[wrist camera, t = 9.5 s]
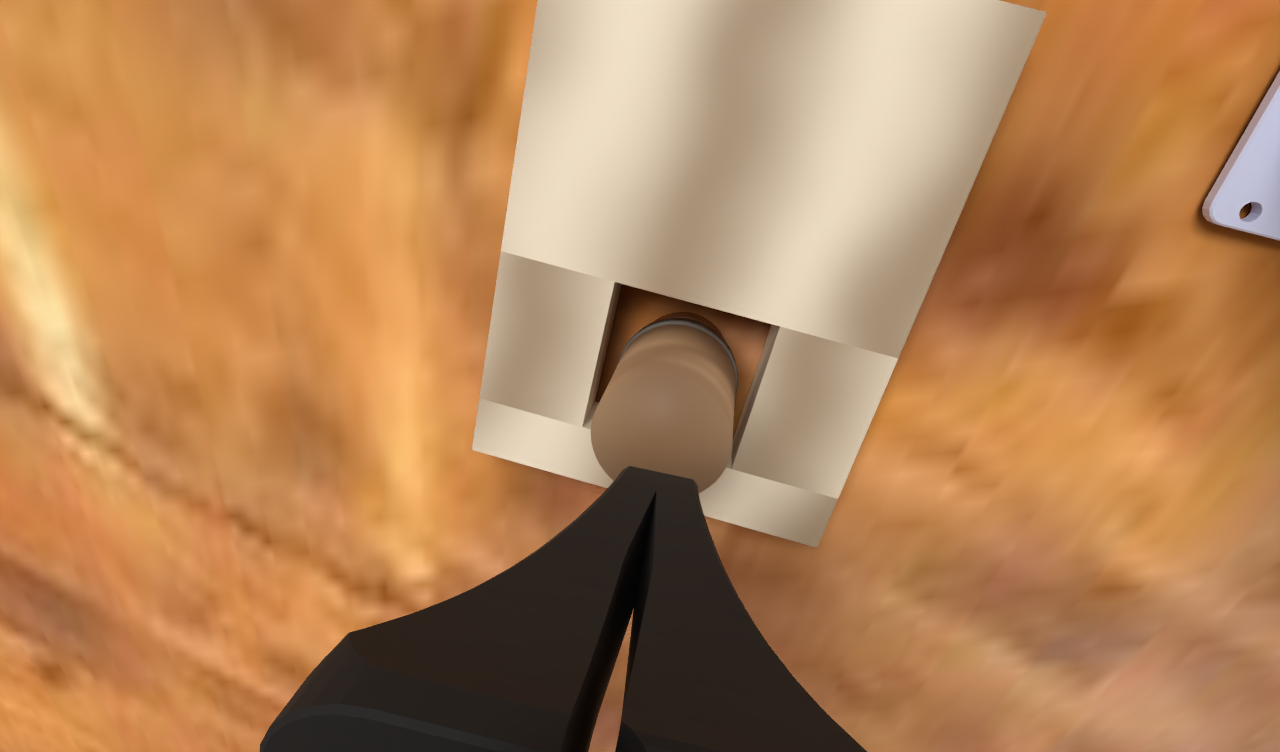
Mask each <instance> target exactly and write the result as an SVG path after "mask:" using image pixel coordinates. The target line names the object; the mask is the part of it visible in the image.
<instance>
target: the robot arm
mask: <svg viewBox="0 0 1280 752" xmlns="http://www.w3.org/2000/svg"><path fill="white" fill-rule="evenodd" d="M1250 202H1251V205H1252V209H1251V212H1250V213H1249V214H1248V215H1247V216H1246V217H1245V218H1242V219H1240V217H1239V213H1240V210H1241V208H1242V207H1243V206H1244V205H1246V204H1248V203H1250ZM1202 212H1203V216H1204V217H1205V219H1206V220H1207V221H1209V222H1211V223H1213V224H1217V225H1221V226H1224V227H1228V228H1232V229H1236V230H1240V231H1244V232H1248V233H1252V234H1256V235H1260V236H1264V237H1267V238H1271V239H1275V240H1279V241H1280V71H1279V73H1278V75H1277V76H1276V78H1275V80H1274V82H1273V83H1272V85H1271V87H1270V88H1269V90H1268V92H1267V94H1266V95H1265V97H1264V99H1263V101H1262V102H1261V104H1260V106H1259V108H1258V109H1257V111H1256V113H1255V114H1254V116H1253V118H1252V120H1251V121H1250V123H1249V125H1248V127H1247V128H1246V130H1245V132H1244V134H1243V135H1242V137H1241V139H1240V140H1239V142H1238V144H1237V146H1236V147H1235V149H1234V151H1233V153H1232V154H1231V156H1230V158H1229V160H1228V161H1227V163H1226V165H1225V166H1224V168H1223V170H1222V172H1221V173H1220V175H1219V177H1218V179H1217V180H1216V182H1215V184H1214V186H1213V187H1212V189H1211V191H1210V192H1209V194H1208V196H1207V198H1206V199H1205V201H1204V204H1203V207H1202ZM633 608H634V611H633ZM632 611H633V620H632V629H631V638H630V647H629V656H628V665H627V674H626V683H625V692H624V701H623V710H622V718H621V725H620V731H619V736H618V741H617V746H616V751H615V752H867V751H866V750H865V749H864V748H863V747H861V746H860V745H859V744H858V743H857V742H856V741H855V740H854V739H853V738H852V737H851V736H850V735H849V734H848V733H847V732H846V731H845V730H843V729H842V728H841V727H840V726H839V725H838V724H837V723H836V722H835V721H834V720H833V719H832V718H831V717H830V716H829V715H828V714H827V713H826V712H825V711H824V710H823V709H822V708H821V707H820V706H819V705H818V704H817V703H816V702H815V700H814V699H813V698H812V697H811V696H810V695H809V694H808V693H807V692H806V691H805V689H804V688H803V687H802V686H801V685H800V684H799V683H798V682H797V681H796V679H795V678H794V677H793V676H792V674H791V673H790V672H789V671H788V669H787V668H786V667H785V665H784V664H783V663H782V662H781V660H780V659H779V658H778V656H777V655H776V654H775V653H774V651H773V650H772V649H771V647H770V646H769V645H768V643H767V642H766V640H765V639H764V637H763V636H762V634H761V633H760V631H759V630H758V628H757V627H756V625H755V624H754V622H753V621H752V619H751V617H750V616H749V614H748V612H747V611H746V609H745V607H744V606H743V604H742V602H741V600H740V599H739V597H738V595H737V593H736V591H735V589H734V587H733V585H732V583H731V581H730V579H729V577H728V575H727V573H726V571H725V569H724V567H723V564H722V562H721V560H720V558H719V555H718V553H717V550H716V548H715V545H714V543H713V540H712V537H711V535H710V532H709V529H708V526H707V523H706V520H705V517H704V514H703V510H702V506H701V503H700V498H699V492H698V486H697V484H696V483H695V481H694V480H693V479H689V478H685V477H680V476H675V475H670V474H666V473H661V472H656V471H652V470H647V469H642V468H638V467H633V466H628V467H626V468H625V469H623V470H622V471H621V473H620V474H619V475H618V477H617V478H616V479H615V480H614V482H613V483H612V484H611V485H610V486H609V487H608V488H607V489H606V491H605V492H604V493H603V494H602V495H601V496H600V497H599V498H598V499H597V500H596V501H595V502H594V503H593V504H592V505H591V506H590V507H589V508H587V509H586V510H585V511H584V512H583V513H582V514H581V515H580V516H579V517H578V518H577V519H576V520H575V521H573V522H572V523H571V524H570V525H569V526H567V527H566V528H565V529H564V530H562V531H561V532H560V533H559V534H557V535H556V536H555V537H554V538H553V539H551V540H550V541H549V542H547V543H546V544H545V545H543V546H542V547H541V548H539V549H538V550H537V551H535V552H534V553H532V554H531V555H529V556H528V557H526V558H525V559H523V560H522V561H520V562H519V563H517V564H515V565H514V566H512V567H511V568H509V569H507V570H505V571H504V572H502V573H500V574H498V575H497V576H495V577H493V578H491V579H490V580H488V581H486V582H484V583H482V584H480V585H479V586H477V587H475V588H473V589H471V590H469V591H466V592H464V593H462V594H460V595H457V596H455V597H453V598H451V599H448V600H446V601H443V602H441V603H438V604H436V605H433V606H431V607H428V608H426V609H423V610H420V611H418V612H415V613H412V614H409V615H406V616H403V617H400V618H397V619H393V620H390V621H387V622H384V623H381V624H377V625H374V626H371V627H368V628H365V629H361V630H357V631H354V632H350V633H348V634H347V635H346V636H345V637H344V638H343V640H342V641H341V642H340V643H339V644H338V645H337V646H336V647H335V648H334V649H333V650H332V651H331V652H330V653H329V654H328V655H327V656H326V657H325V658H324V659H323V660H322V661H321V663H320V664H319V665H318V666H317V667H316V668H315V669H314V670H313V671H312V673H311V674H310V675H309V676H308V677H307V678H306V680H305V681H304V682H303V684H302V685H301V686H300V688H299V689H298V690H297V692H296V693H295V694H294V696H293V697H292V698H291V699H290V701H289V702H288V703H287V705H286V706H285V707H284V709H283V710H282V711H281V713H280V714H279V715H278V717H277V718H276V719H275V721H274V722H273V723H272V724H271V726H270V727H269V729H268V731H267V733H266V735H265V737H264V738H263V740H262V742H261V744H260V752H588V750H589V746H590V742H591V738H592V734H593V730H594V727H595V724H596V720H597V717H598V713H599V710H600V707H601V704H602V701H603V698H604V695H605V692H606V689H607V686H608V683H609V680H610V677H611V674H612V671H613V668H614V665H615V662H616V659H617V656H618V653H619V650H620V647H621V644H622V641H623V638H624V635H625V632H626V629H627V626H628V623H629V620H630V617H631V614H632Z"/></svg>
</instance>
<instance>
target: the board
mask: <svg viewBox="0 0 1280 752" xmlns="http://www.w3.org/2000/svg"><path fill="white" fill-rule="evenodd" d="M1046 13H1047V12H1044V11H1040V10H1036V9H1032V8H1028V7H1024V6H1019V5H1015V4H1011V3H1007V2H1003V1H999V0H538V1H537V8H536V15H535V22H534V29H533V36H532V42H531V49H530V56H529V63H528V70H527V77H526V83H525V90H524V97H523V104H522V111H521V118H520V124H519V131H518V138H517V145H516V152H515V159H514V165H513V172H512V179H511V186H510V193H509V200H508V206H507V213H506V220H505V227H504V234H503V241H502V247H501V254H500V261H499V268H498V275H497V282H496V288H495V295H494V302H493V309H492V316H491V323H490V329H489V336H488V343H487V350H486V357H485V364H484V370H483V377H482V384H481V391H480V398H479V405H478V411H477V418H476V425H475V432H474V439H473V446H472V450H475V451H478V452H482V453H485V454H489V455H492V456H496V457H499V458H503V459H506V460H510V461H513V462H517V463H520V464H524V465H527V466H531V467H534V468H538V469H541V470H545V471H548V472H552V473H555V474H559V475H563V476H566V477H570V478H573V479H577V480H580V481H584V482H587V483H591V484H594V485H598V486H601V487H605V488H608V487H609V486H610V485H611V484H612V483H613V482H614V481H613V480H612V479H611V478H610V477H609V476H608V475H607V474H606V473H605V471H604V470H603V469H602V467H601V466H600V464H599V462H598V460H597V458H596V456H595V453H594V451H593V447H592V443H591V424H592V419H593V416H594V413H595V410H596V408H597V406H598V404H599V402H595V399H596V395H597V391H598V386H599V382H600V378H601V373H602V369H603V364H604V360H605V356H606V351H607V347H608V343H609V338H610V334H611V329H612V325H613V321H614V316H615V312H616V307H617V303H618V299H619V294H620V290H621V286H622V284H625V285H628V286H632V287H636V288H639V289H643V290H647V291H650V292H654V293H658V294H662V295H665V296H669V297H673V298H676V299H680V300H684V301H687V302H691V303H695V304H699V305H702V306H706V307H710V308H713V309H717V310H721V311H724V312H728V313H732V314H736V315H739V316H743V317H747V318H750V319H754V320H758V321H761V322H765V323H769V324H771V327H770V330H769V333H768V336H767V339H766V342H765V345H764V348H763V351H762V354H761V357H760V360H759V363H758V366H757V369H756V372H755V375H754V378H753V381H752V384H751V387H750V390H749V393H748V396H747V399H746V402H745V405H744V408H743V411H742V414H741V417H740V420H739V423H738V426H737V429H736V432H735V435H734V438H733V441H732V451H731V456H730V459H729V462H728V464H727V466H726V468H725V470H724V472H723V473H722V475H721V476H720V477H719V478H718V479H717V481H716V482H715V483H714V484H712V485H711V486H710V487H709V488H707V489H706V490H704V491H702V492H701V493H699V498H700V503H701V506H702V510H703V514H704V516H707V517H710V518H714V519H717V520H721V521H724V522H728V523H731V524H735V525H738V526H742V527H745V528H749V529H752V530H756V531H760V532H763V533H767V534H770V535H774V536H777V537H781V538H784V539H788V540H791V541H795V542H798V543H802V544H805V545H809V546H812V547H816V548H817V547H818V544H819V542H820V540H821V537H822V535H823V533H824V530H825V528H826V526H827V523H828V521H829V519H830V516H831V514H832V512H833V509H834V507H835V505H836V502H837V500H838V498H839V495H840V493H841V491H842V488H843V486H844V484H845V481H846V479H847V477H848V474H849V472H850V470H851V467H852V465H853V463H854V460H855V458H856V456H857V453H858V451H859V449H860V446H861V444H862V442H863V439H864V437H865V435H866V432H867V430H868V428H869V425H870V423H871V421H872V418H873V416H874V414H875V412H876V409H877V407H878V405H879V402H880V400H881V398H882V395H883V393H884V391H885V388H886V386H887V384H888V381H889V379H890V377H891V374H892V372H893V370H894V367H895V365H896V363H897V360H898V358H899V356H900V353H901V351H902V349H903V346H904V344H905V342H906V339H907V337H908V335H909V332H910V330H911V328H912V325H913V323H914V321H915V318H916V316H917V314H918V311H919V309H920V307H921V304H922V302H923V300H924V297H925V295H926V293H927V290H928V288H929V286H930V283H931V281H932V279H933V276H934V274H935V272H936V270H937V267H938V265H939V263H940V260H941V258H942V256H943V253H944V251H945V249H946V246H947V244H948V242H949V239H950V237H951V235H952V232H953V230H954V228H955V225H956V223H957V221H958V218H959V216H960V214H961V211H962V209H963V207H964V204H965V202H966V200H967V197H968V195H969V193H970V190H971V188H972V186H973V183H974V181H975V179H976V176H977V174H978V172H979V169H980V167H981V165H982V162H983V160H984V158H985V155H986V153H987V151H988V148H989V146H990V144H991V141H992V139H993V137H994V134H995V132H996V130H997V127H998V125H999V123H1000V121H1001V118H1002V116H1003V114H1004V111H1005V109H1006V107H1007V104H1008V102H1009V100H1010V97H1011V95H1012V93H1013V90H1014V88H1015V86H1016V83H1017V81H1018V79H1019V76H1020V74H1021V72H1022V69H1023V67H1024V65H1025V62H1026V60H1027V58H1028V55H1029V53H1030V51H1031V48H1032V46H1033V44H1034V41H1035V39H1036V37H1037V34H1038V32H1039V30H1040V27H1041V25H1042V23H1043V20H1044V18H1045V16H1046Z"/></svg>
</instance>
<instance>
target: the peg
mask: <svg viewBox="0 0 1280 752" xmlns="http://www.w3.org/2000/svg"><path fill="white" fill-rule="evenodd" d="M737 378H738V373H737V366H736V363H735V359H734V357H733V354H732V352H731V349H730V348H729V346H728V344H727V343H726V341H725V339H724V337H723V335H722V334H721V332H720V331H719V329H718V328H717V327H716V326H715V325H714V324H713V323H712V322H710V321H709V320H707V319H706V318H704V317H702V316H699V315H697V314H693V313H687V312H677V313H671V314H667V315H665V316H662V317H660V318H659V319H657V320H655V321H654V322H653V323H650V324H649V325H647V326H645V327H644V328H642V329H641V330H640V331H639V332H638V333H636V334H635V335H634V336H633V337H632V338H631V339H630V341H629V342H628V343H627V345H626V347H625V348H624V350H623V352H622V354H621V357H620V359H619V362H618V366H617V368H616V370H615V372H614V374H613V376H612V378H611V380H610V382H609V384H608V386H607V388H606V390H605V392H604V394H603V396H602V398H601V400H600V402H599V404H598V406H597V408H596V410H595V413H594V416H593V419H592V424H591V443H592V447H593V451H594V453H595V456H596V458H597V460H598V462H599V464H600V466H601V467H602V469H603V470H604V471H605V473H606V474H607V475H608V476H609V477H610V478H611V479H612V480H613V481H614V480H615V479H616V478H617V477H618V475H619V474H620V473H621V471H622V470H623V469H625V468H626V467H628V466H633V467H638V468H642V469H647V470H652V471H656V472H661V473H666V474H670V475H675V476H680V477H685V478H689V479H693V480H694V481H695V483H696V484H697V486H698V492H699V493H701V492H702V491H704V490H706V489H707V488H709V487H710V486H711V485H712V484H714V483H715V482H716V481H717V479H718V478H719V477H720V476H721V475H722V473H723V472H724V470H725V468H726V466H727V464H728V462H729V459H730V456H731V451H732V441H733V423H734V405H735V394H736V390H737Z"/></svg>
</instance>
